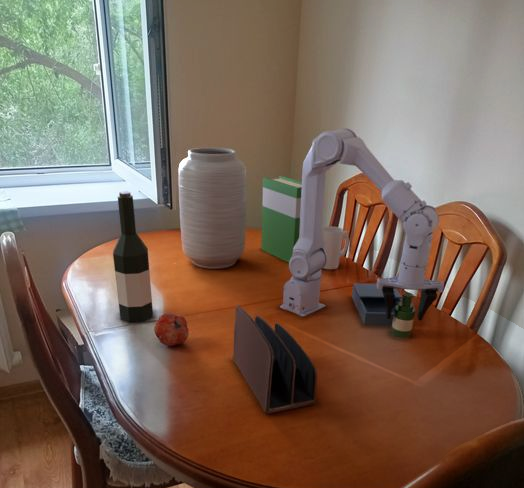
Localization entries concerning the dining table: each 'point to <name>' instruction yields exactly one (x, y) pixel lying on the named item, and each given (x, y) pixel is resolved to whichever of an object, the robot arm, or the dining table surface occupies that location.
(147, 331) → the dining table surface
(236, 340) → the letter holder
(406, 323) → the bottle
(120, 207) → the wine bottle
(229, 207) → the vase
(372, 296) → the flap
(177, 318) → the pomegranate
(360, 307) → the tray
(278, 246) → the hardback book
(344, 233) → the mug
